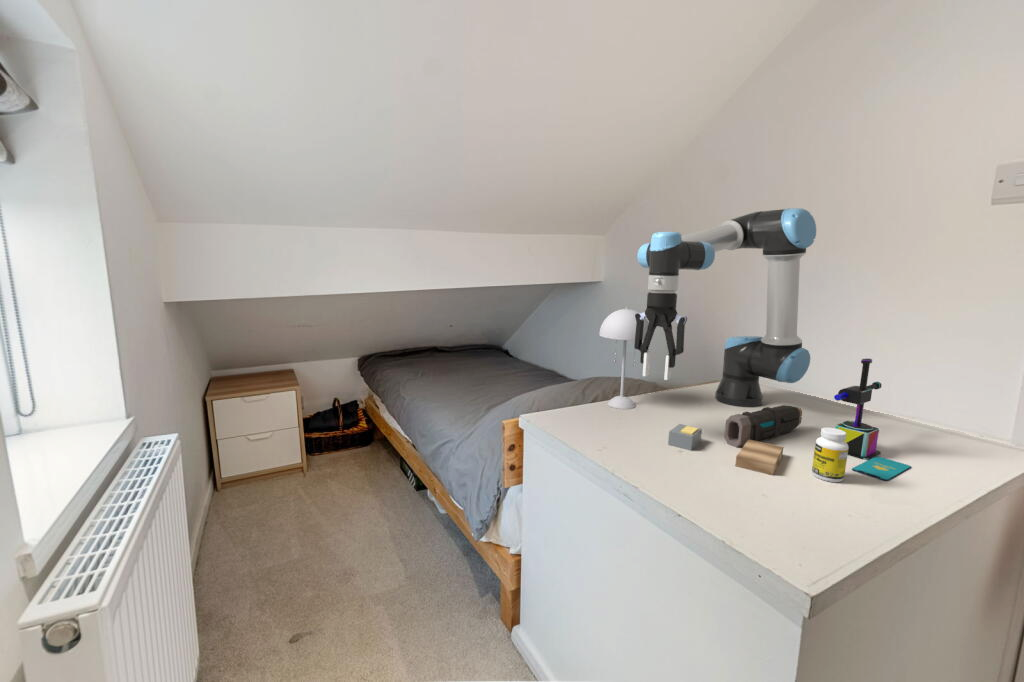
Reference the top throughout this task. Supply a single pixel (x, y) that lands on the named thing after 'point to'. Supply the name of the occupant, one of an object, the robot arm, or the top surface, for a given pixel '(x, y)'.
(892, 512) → the top surface
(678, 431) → the block
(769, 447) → the board
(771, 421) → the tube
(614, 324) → the lamp
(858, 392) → the colourful clamp stand
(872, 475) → the smartphone
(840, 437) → the pill bottle
